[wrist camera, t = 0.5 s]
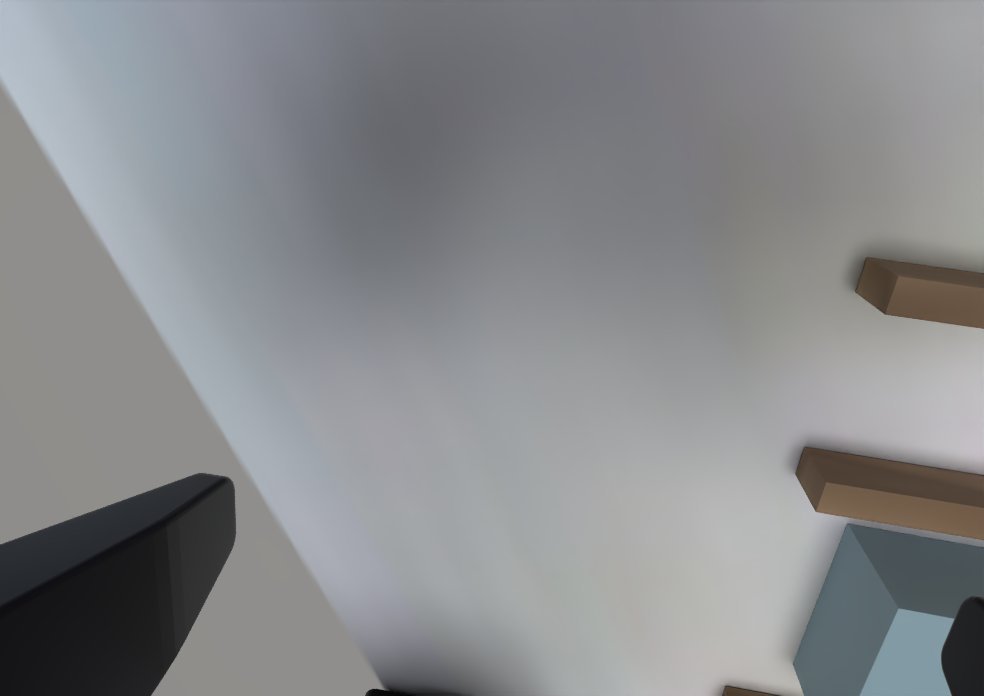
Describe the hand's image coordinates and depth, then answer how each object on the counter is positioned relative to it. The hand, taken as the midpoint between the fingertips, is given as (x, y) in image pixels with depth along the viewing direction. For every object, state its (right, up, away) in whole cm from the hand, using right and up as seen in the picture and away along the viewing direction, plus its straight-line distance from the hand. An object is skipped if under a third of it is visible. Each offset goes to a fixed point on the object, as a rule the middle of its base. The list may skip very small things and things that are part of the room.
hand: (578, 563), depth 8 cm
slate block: (+13, -6, +14) cm, 20 cm away
